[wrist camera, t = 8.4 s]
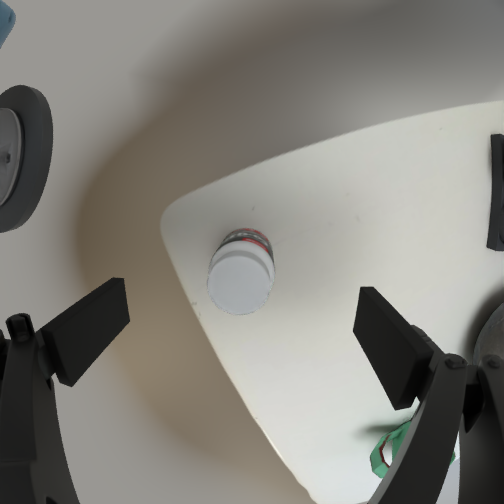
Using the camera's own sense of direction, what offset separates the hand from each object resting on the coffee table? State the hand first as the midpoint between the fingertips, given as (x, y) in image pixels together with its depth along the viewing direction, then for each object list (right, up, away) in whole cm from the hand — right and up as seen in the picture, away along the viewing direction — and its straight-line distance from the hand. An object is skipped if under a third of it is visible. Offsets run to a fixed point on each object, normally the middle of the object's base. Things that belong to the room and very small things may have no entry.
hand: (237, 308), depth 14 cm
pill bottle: (0, +3, +11) cm, 11 cm away
